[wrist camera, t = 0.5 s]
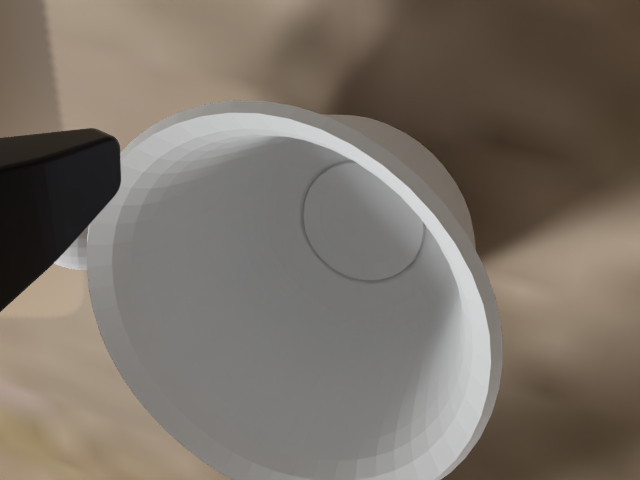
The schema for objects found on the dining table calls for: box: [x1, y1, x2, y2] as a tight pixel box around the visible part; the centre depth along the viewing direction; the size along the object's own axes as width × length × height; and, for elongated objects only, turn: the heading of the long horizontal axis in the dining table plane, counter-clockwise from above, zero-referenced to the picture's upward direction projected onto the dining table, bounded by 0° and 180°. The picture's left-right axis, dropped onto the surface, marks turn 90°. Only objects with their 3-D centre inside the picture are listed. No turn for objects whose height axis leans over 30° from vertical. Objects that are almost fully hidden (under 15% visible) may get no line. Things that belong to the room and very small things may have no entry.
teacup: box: [54, 100, 503, 480], centre depth 19 cm, size 12×15×10 cm
